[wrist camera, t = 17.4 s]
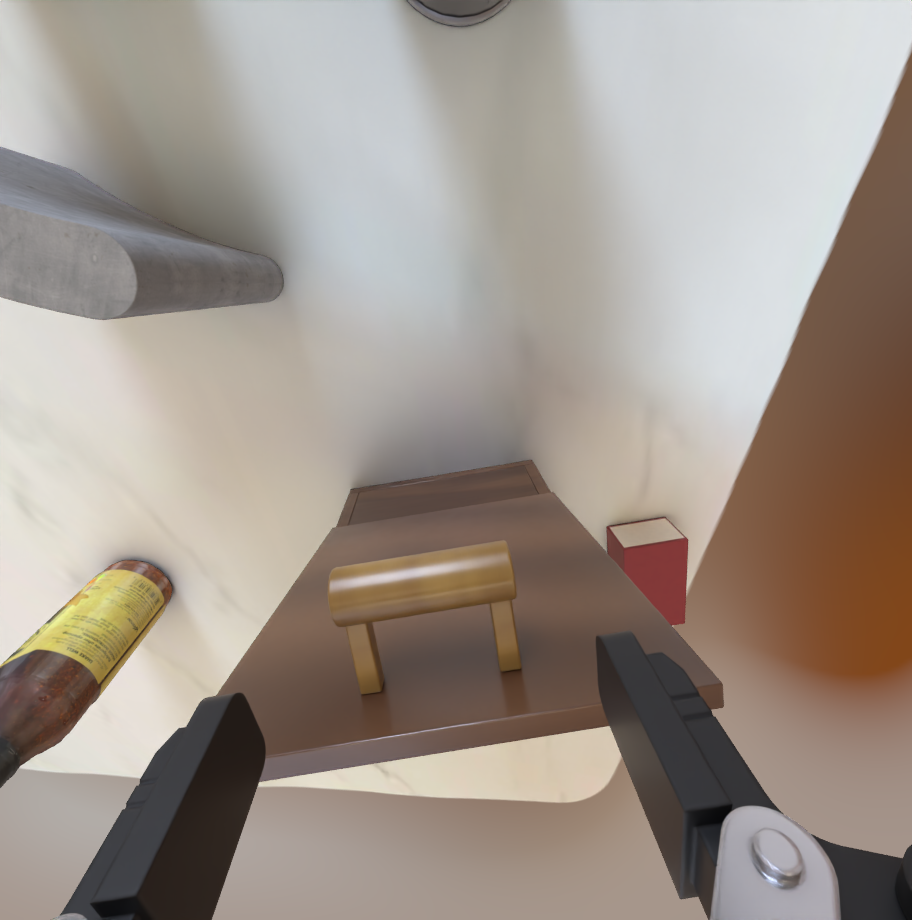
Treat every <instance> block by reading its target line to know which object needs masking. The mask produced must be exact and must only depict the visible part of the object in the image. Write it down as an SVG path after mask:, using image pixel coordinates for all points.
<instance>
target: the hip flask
mask: <svg viewBox="0 0 912 920" xmlns="http://www.w3.org/2000/svg"><path fill="white" fill-rule="evenodd" d="M282 288H283V276H282V273H281V271H280V269H279V267H278V266H277V264H276V263H275V262H274V261H273V260H271V259H270V258H268V257H266V256H263V255H259V254H254V253H250V252H246V251H242V250H238V249H234V248H231V247H227V246H224V245H221V244H218V243H215V242H212V241H209V240H206V239H204V238H201V237H198V236H196V235H193V234H191V233H188V232H186V231H183V230H181V229H179V228H177V227H174V226H172V225H170V224H167V223H165V222H163V221H161V220H159V219H156V218H154V217H152V216H150V215H148V214H146V213H144V212H142V211H140V210H138V209H136V208H134V207H132V206H131V205H129V204H127V203H125V202H123V201H121V200H120V199H118V198H116V197H114V196H113V195H111V194H109V193H107V192H106V191H104V190H103V189H101V188H100V187H98V186H96V185H95V184H93V183H92V182H90V181H89V180H87V179H86V178H84V177H83V176H81V175H80V174H78V173H77V172H75V171H73V170H71V169H68V168H65V167H62V166H59V165H56V164H53V163H49V162H46V161H43V160H40V159H37V158H34V157H31V156H28V155H25V154H21V153H18V152H15V151H12V150H9V149H6V148H3V147H0V297H2V298H6V299H9V300H13V301H17V302H20V303H24V304H27V305H32V306H36V307H40V308H45V309H49V310H53V311H57V312H62V313H67V314H72V315H77V316H82V317H87V318H92V319H99V320H107V319H116V318H126V317H135V316H144V315H153V314H162V313H171V312H180V311H190V310H199V309H208V308H217V307H226V306H235V305H245V304H254V303H263V302H269V301H272V300H274V299H276V298H277V297H278V296H279V294H280V293H281V291H282Z"/></svg>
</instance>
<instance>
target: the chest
mask: <svg viewBox="0 0 912 920" xmlns="http://www.w3.org/2000/svg"><path fill="white" fill-rule="evenodd" d="M545 493H551V492H550V490H549V488H548V487H547V485H546V483H545V481H544V480H543V478H542V476H541V475H540V473H539V471H538V469H537V468H536V466H535V464H534V463H533V461H532V460H528V461H522V462H516V463H510V464H504V465H498V466H491V467H485V468H479V469H473V470H467V471H461V472H455V473H449V474H443V475H436V476H430V477H424V478H418V479H412V480H406V481H400V482H394V483H388V484H382V485H375V486H369V487H363V488H357V489H351V490H350V493H349V495H348V498H347V500H346V503H345V505H344V508H343V511H342V513H341V516H340V519H339V521H338V524H337V526H336V528H337V527H343V526H349V525H355V524H361V523H367V522H374V521H380V520H386V519H392V518H398V517H404V516H410V515H416V514H423V513H429V512H435V511H441V510H447V509H453V508H459V507H465V506H472V505H478V504H484V503H490V502H496V501H502V500H508V499H514V498H520V497H527V496H533V495H539V494H545Z"/></svg>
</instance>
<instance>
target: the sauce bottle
mask: <svg viewBox="0 0 912 920" xmlns="http://www.w3.org/2000/svg"><path fill="white" fill-rule="evenodd" d="M171 593H172V588H171V585H170V582H169V581H168V579H167V578H166V577H165V575H164V573H163V572H162V571H160V570H159V569H158V568H156V567H154V566H153V565H151V564H148V563H145V562H143V561H135V560H124V561H120V562H117V563H115V564H113V565H111V566H109V567H108V568H107V569H105V570H104V571H103V572H102V573H100V574H98V575H97V576H96V577H94V578H93V579H92V580H91V581H90V582H89V583H88V584H87V585H86V586H85V587H84V588H83V589H82V590H81V591H80V592H79V593H77V594H76V595H75V596H74V597H73V598H72V599H71V600H70V601H69V602H68V603H67V604H66V605H65V606H64V607H63V608H61V609H60V610H59V611H58V612H57V613H56V614H55V615H54V616H53V617H52V618H51V619H50V620H49V621H47V622H46V623H45V625H43V626H42V627H41V628H40V629H39V630H38V631H37V632H36V633H35V634H33V635H32V636H31V637H30V638H29V639H28V640H27V641H26V642H25V643H24V644H23V645H22V646H21V647H20V648H19V649H18V650H17V651H16V652H14V653H13V654H12V655H11V656H10V657H9V658H8V659H7V660H6V661H5V662H4V663H3V664H2V665H1V666H0V788H1V787H2V786H3V784H4V783H5V782H6V781H7V780H8V779H9V778H11V777H12V776H13V775H14V774H15V772H16V771H17V769H18V768H19V767H20V766H21V765H22V764H24V763H25V762H27V761H28V760H30V759H31V758H32V757H34V756H36V755H37V754H40V753H42V752H44V751H46V750H47V749H49V748H51V747H53V746H55V745H56V744H58V743H59V742H61V741H62V739H63V738H64V737H65V736H66V735H67V734H68V733H70V731H71V730H72V729H73V727H74V726H75V725H76V724H77V722H78V721H79V720H80V718H81V717H82V715H83V714H84V713H85V712H86V711H87V709H88V708H89V706H90V705H91V704H93V703H94V702H95V701H96V700H97V699H98V698H99V696H100V695H101V694H102V692H103V691H104V690H105V688H106V687H107V686H108V685H109V683H110V682H111V681H112V679H113V678H114V677H115V675H116V674H117V673H118V671H119V670H120V669H121V667H122V666H123V665H124V664H125V662H126V661H127V660H128V658H129V657H130V656H131V654H132V653H133V652H134V650H135V649H136V648H137V646H138V645H139V644H140V643H141V641H142V640H143V639H144V637H145V636H146V635H147V633H148V632H149V631H150V629H151V628H152V627H153V625H154V624H155V623H156V622H157V620H158V619H159V618H160V616H161V615H162V614H163V612H164V610H165V607H166V606H167V604H168V603H169V600H170V597H171Z"/></svg>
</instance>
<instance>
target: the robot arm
mask: <svg viewBox="0 0 912 920" xmlns="http://www.w3.org/2000/svg"><path fill="white" fill-rule="evenodd" d="M407 1H408V2H409V3H410V4H411V5H412V6H413V7H414V8H415V9H416V10H418V11H419V12H420V13H422V14H423V15H425V16H426V17H428V18H430V19H432V20H434V21H437V22H439V23H443V24H446V25H453V26H466V25H472V24H476V23H479V22H482V21H484V20H486V19H488V18H490V17H492V16H493V15H495V14H496V13H498V12H499V11H500V10H501V9H503V8H504V7H505V6H506V5H507V4H508V3H509V2H510V1H511V0H407ZM596 656H597V675H598V688H599V694H600V699H601V703H602V706H603V709H604V712H605V715H606V718H607V720H608V723H609V725H610V728H611V730H612V733H613V735H614V738H615V740H616V743H617V745H618V747H619V750H620V752H621V755H622V757H623V760H624V762H625V765H626V767H627V769H628V772H629V775H630V777H631V779H632V782H633V784H634V787H635V789H636V791H637V794H638V797H639V799H640V802H641V804H642V806H643V809H644V811H645V814H646V816H647V819H648V821H649V824H650V826H651V829H652V831H653V834H654V836H655V839H656V841H657V843H658V846H659V848H660V851H661V853H662V856H663V858H664V861H665V863H666V866H667V868H668V871H669V873H670V875H671V878H672V880H673V883H674V885H675V888H676V890H677V893H678V895H679V898H680V899H686V898H692V897H699V899H700V901H701V904H702V906H703V908H704V911H705V913H706V915H707V918H708V920H912V845H911V846H910V847H909V848H908V849H907V850H906V852H905V854H904V857H903V858H898V857H893V856H888V855H883V854H878V853H873V852H868V851H863V850H859V849H854V848H849V847H843V846H840V845H836V844H833V843H830V842H828V841H825V840H822V839H820V838H818V837H816V836H814V835H812V834H810V833H809V832H807V830H806V829H804V828H803V827H802V826H801V825H799V824H798V823H797V822H795V821H794V820H792V819H791V818H789V817H788V816H785V815H784V814H783V813H782V812H781V811H780V810H779V809H778V808H777V807H776V806H775V805H774V804H773V803H772V801H771V800H770V799H769V797H768V796H767V794H766V793H765V792H764V790H763V789H762V787H761V786H760V784H759V782H758V781H757V779H756V778H755V776H754V775H753V774H752V772H751V770H750V769H749V767H748V766H747V764H746V763H745V761H744V760H743V758H742V757H741V755H740V754H739V752H738V751H737V749H736V748H735V746H734V744H733V743H732V742H731V740H730V738H729V737H728V735H727V734H726V732H725V731H724V729H723V728H722V726H721V725H720V723H719V722H718V720H717V719H716V717H714V716H713V715H712V711H711V710H710V708H709V706H708V705H707V703H706V702H705V700H704V699H703V697H701V696H700V694H699V691H698V690H697V688H696V687H695V685H694V684H693V682H692V681H691V679H690V678H689V676H688V675H687V673H686V672H685V670H684V669H683V668H682V667H680V666H679V665H678V664H677V663H675V662H674V661H673V660H672V659H670V658H669V657H668V656H667V655H665V654H664V653H663V652H657V653H651V654H645V652H644V650H643V649H642V647H641V645H640V644H639V642H638V640H637V638H636V637H635V635H634V634H633V633H632V632H631V631H630V630H629V631H623V632H617V633H610V634H604V635H598V636H596ZM265 757H266V746H265V740H264V737H263V734H262V732H261V730H260V728H259V725H258V723H257V721H256V719H255V716H254V714H253V712H252V710H251V708H250V705H249V703H248V701H247V699H246V697H245V695H244V694H243V693H240V692H238V693H232V694H226V695H220V696H214V697H208V698H205V699H203V700H202V701H201V702H200V703H199V705H198V707H197V708H196V710H195V712H194V714H193V716H192V717H191V719H190V721H189V723H188V725H187V727H184V728H179V729H178V730H177V731H176V732H175V733H174V734H173V735H172V736H171V737H170V738H169V739H168V740H167V741H166V742H165V744H164V745H163V746H162V747H161V748H160V749H159V750H158V751H157V752H156V753H155V755H154V757H153V759H152V760H151V762H150V764H149V765H148V767H147V769H146V770H145V772H144V774H143V776H142V777H141V779H140V784H139V786H136V788H135V789H134V791H133V793H132V794H131V796H130V798H129V800H128V801H127V803H126V808H125V809H124V810H122V812H121V813H120V815H119V817H118V818H117V820H116V822H115V824H114V825H113V827H112V829H111V830H110V832H109V834H108V835H107V837H106V839H105V841H104V842H103V844H102V846H101V847H100V849H99V851H98V853H97V854H96V856H95V858H94V859H93V861H92V863H91V865H90V866H89V868H88V870H87V872H86V873H85V875H84V877H83V878H82V880H81V882H80V884H79V885H78V887H77V889H76V890H75V892H74V894H73V895H72V897H71V899H70V900H69V902H68V904H67V905H66V907H65V908H64V910H63V912H62V913H61V914H60V916H58V917H56V918H54V919H52V920H212V917H213V914H214V911H215V908H216V905H217V902H218V900H219V897H220V894H221V891H222V888H223V885H224V882H225V879H226V876H227V873H228V870H229V868H230V865H231V862H232V859H233V856H234V853H235V850H236V847H237V844H238V841H239V838H240V836H241V833H242V830H243V827H244V824H245V821H246V818H247V815H248V812H249V809H250V806H251V804H252V801H253V798H254V795H255V792H256V789H257V786H258V783H259V780H260V777H261V774H262V772H263V768H264V764H265Z"/></svg>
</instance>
